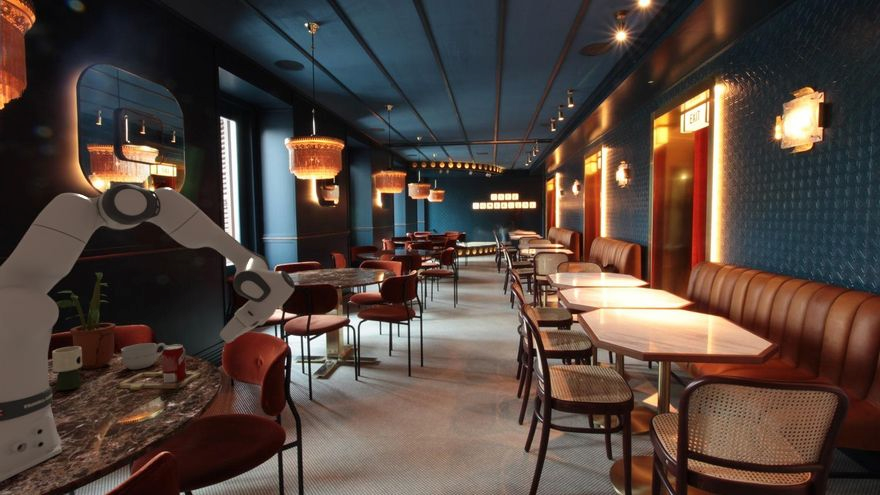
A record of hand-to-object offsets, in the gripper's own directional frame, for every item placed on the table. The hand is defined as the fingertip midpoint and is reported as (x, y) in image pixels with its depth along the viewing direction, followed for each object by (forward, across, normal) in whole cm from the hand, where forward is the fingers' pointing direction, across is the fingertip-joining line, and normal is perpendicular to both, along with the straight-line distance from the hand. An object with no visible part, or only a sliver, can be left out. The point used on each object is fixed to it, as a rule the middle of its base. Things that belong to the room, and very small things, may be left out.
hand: (228, 341), depth 143 cm
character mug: (+45, +7, -24) cm, 51 cm away
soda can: (+23, 0, -3) cm, 24 cm away
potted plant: (+52, -12, -32) cm, 62 cm away
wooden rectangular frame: (+27, 0, -7) cm, 28 cm away
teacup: (+38, -15, -18) cm, 45 cm away
